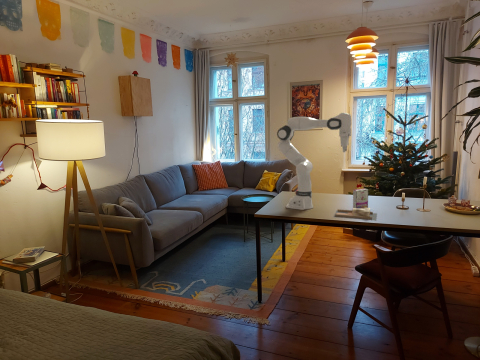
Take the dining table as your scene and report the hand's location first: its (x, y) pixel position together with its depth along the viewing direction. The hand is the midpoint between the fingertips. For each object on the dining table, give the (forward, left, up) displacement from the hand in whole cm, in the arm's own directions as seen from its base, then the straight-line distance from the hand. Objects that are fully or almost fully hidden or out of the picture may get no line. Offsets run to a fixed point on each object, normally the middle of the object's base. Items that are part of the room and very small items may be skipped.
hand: (344, 151), depth 262 cm
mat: (+10, -14, -47) cm, 50 cm away
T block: (+14, -14, -47) cm, 51 cm away
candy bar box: (+12, +6, -47) cm, 49 cm away
